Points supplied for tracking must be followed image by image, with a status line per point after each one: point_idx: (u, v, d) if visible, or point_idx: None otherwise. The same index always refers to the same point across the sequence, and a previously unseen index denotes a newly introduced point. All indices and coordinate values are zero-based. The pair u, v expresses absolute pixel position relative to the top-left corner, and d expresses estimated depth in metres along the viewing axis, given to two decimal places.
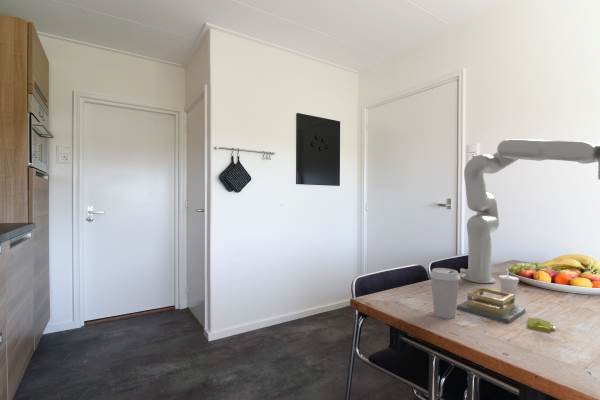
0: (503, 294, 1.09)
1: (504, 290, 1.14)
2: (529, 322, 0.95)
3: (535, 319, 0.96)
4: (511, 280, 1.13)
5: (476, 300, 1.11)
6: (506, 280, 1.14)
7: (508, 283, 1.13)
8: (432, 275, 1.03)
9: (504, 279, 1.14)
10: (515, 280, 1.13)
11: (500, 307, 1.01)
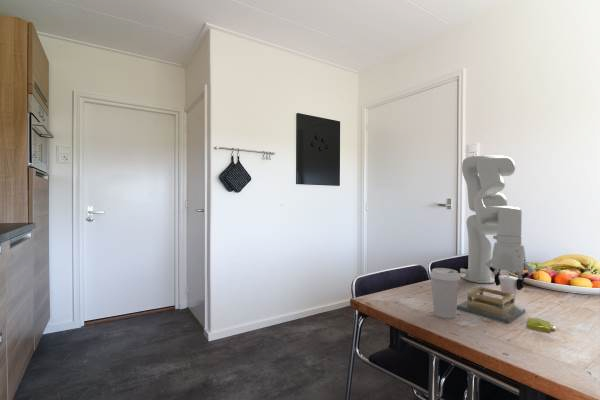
0: (503, 294, 1.09)
1: (504, 290, 1.14)
2: (529, 322, 0.95)
3: (535, 319, 0.96)
4: (511, 280, 1.13)
5: (476, 300, 1.11)
6: (506, 280, 1.14)
7: (508, 283, 1.13)
8: (432, 275, 1.03)
9: (504, 279, 1.14)
10: (515, 280, 1.13)
11: (500, 307, 1.01)
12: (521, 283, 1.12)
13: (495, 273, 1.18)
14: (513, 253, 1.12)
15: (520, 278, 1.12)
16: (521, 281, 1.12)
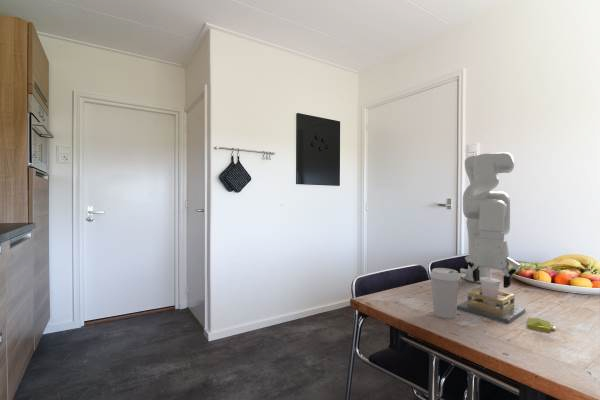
0: (503, 294, 1.09)
1: (485, 292, 1.07)
2: (529, 322, 0.95)
3: (535, 319, 0.96)
4: (492, 282, 1.05)
5: (476, 300, 1.11)
6: (487, 282, 1.06)
7: (489, 286, 1.06)
8: (432, 275, 1.03)
9: (485, 281, 1.07)
10: (496, 282, 1.05)
11: (500, 307, 1.01)
12: (508, 280, 1.03)
13: (473, 268, 1.11)
14: (495, 249, 1.04)
15: (507, 275, 1.03)
16: (508, 278, 1.03)
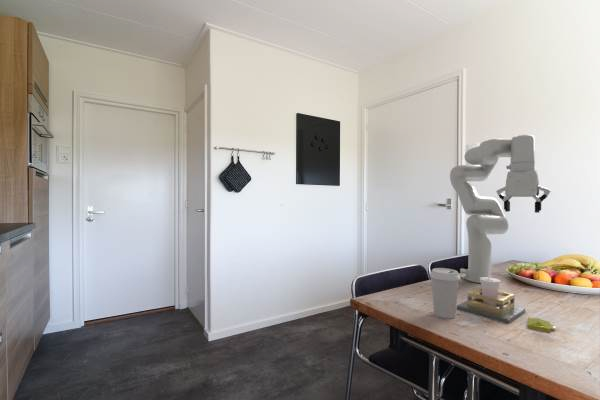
0: (503, 294, 1.09)
1: (485, 292, 1.07)
2: (529, 322, 0.95)
3: (535, 319, 0.96)
4: (492, 282, 1.05)
5: (476, 300, 1.11)
6: (487, 282, 1.06)
7: (489, 286, 1.06)
8: (432, 275, 1.03)
9: (485, 281, 1.07)
10: (496, 282, 1.05)
11: (500, 307, 1.01)
12: (539, 205, 1.13)
13: (504, 200, 1.22)
14: (527, 178, 1.14)
15: (538, 200, 1.13)
16: (539, 203, 1.13)
